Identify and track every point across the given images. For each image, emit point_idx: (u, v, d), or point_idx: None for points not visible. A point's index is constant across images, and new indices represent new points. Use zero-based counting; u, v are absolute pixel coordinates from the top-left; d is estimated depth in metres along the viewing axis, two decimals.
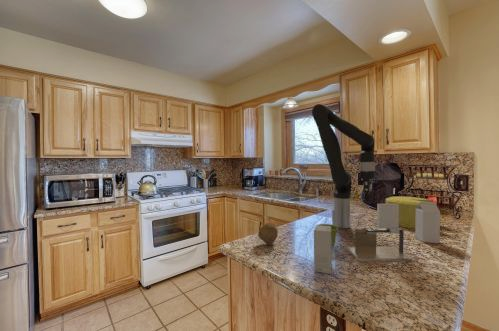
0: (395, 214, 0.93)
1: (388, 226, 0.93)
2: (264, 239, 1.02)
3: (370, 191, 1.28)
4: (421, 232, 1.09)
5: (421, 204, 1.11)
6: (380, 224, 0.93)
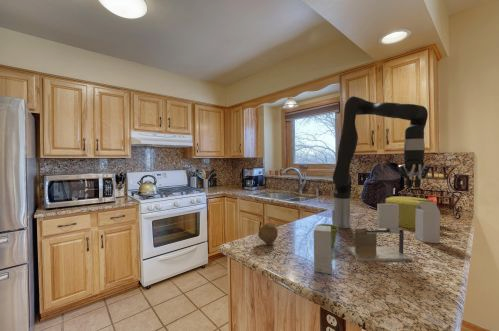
0: (395, 214, 0.93)
1: (388, 226, 0.93)
2: (264, 239, 1.02)
3: None
4: (421, 232, 1.09)
5: (421, 204, 1.11)
6: (380, 224, 0.93)
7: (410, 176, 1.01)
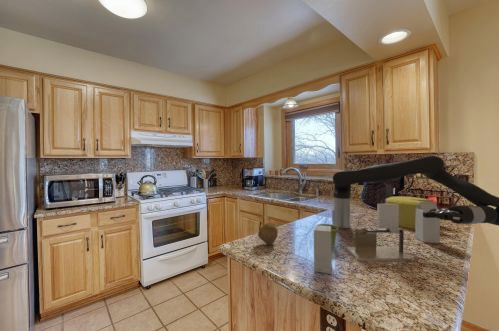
0: (395, 214, 0.93)
1: (388, 226, 0.93)
2: (264, 239, 1.02)
3: (434, 213, 0.93)
4: (421, 232, 1.09)
5: (421, 204, 1.11)
6: (380, 224, 0.93)
7: None
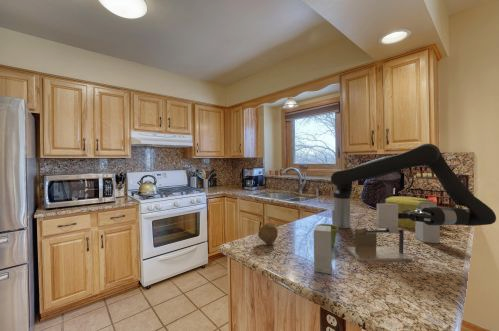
0: (395, 214, 0.93)
1: (387, 226, 0.93)
2: (264, 239, 1.02)
3: (406, 214, 0.93)
4: (421, 232, 1.09)
5: (421, 204, 1.11)
6: (379, 224, 0.93)
7: None
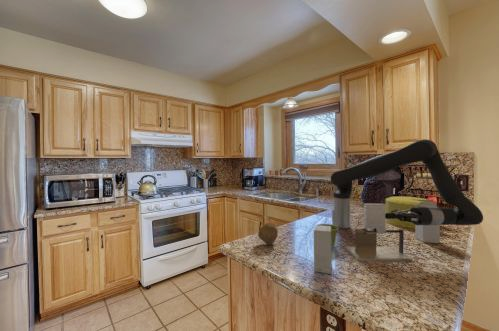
0: (382, 214, 0.93)
1: (375, 226, 0.93)
2: (264, 239, 1.02)
3: (394, 214, 0.93)
4: (421, 232, 1.09)
5: (421, 204, 1.11)
6: (366, 224, 0.93)
7: None
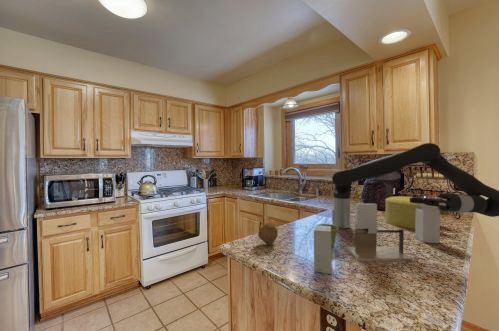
0: (374, 214, 0.93)
1: (366, 226, 0.93)
2: (264, 239, 1.02)
3: None
4: (421, 232, 1.09)
5: (421, 204, 1.11)
6: (358, 224, 0.93)
7: (425, 204, 0.92)
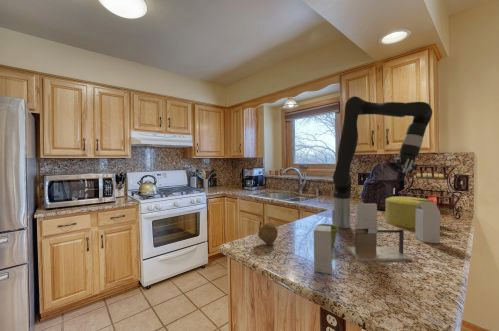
0: (374, 214, 0.93)
1: (366, 226, 0.93)
2: (264, 239, 1.02)
3: None
4: (421, 232, 1.09)
5: (421, 204, 1.11)
6: (358, 224, 0.93)
7: (403, 169, 1.07)
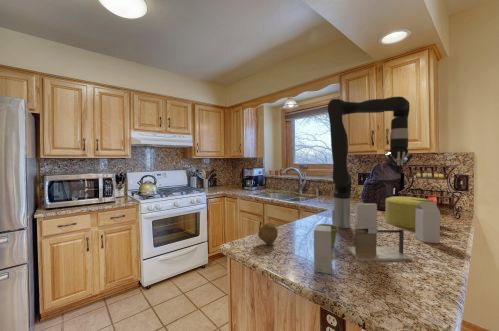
0: (374, 214, 0.93)
1: (366, 226, 0.93)
2: (264, 239, 1.02)
3: None
4: (421, 232, 1.09)
5: (421, 204, 1.11)
6: (358, 224, 0.93)
7: (398, 162, 1.11)
